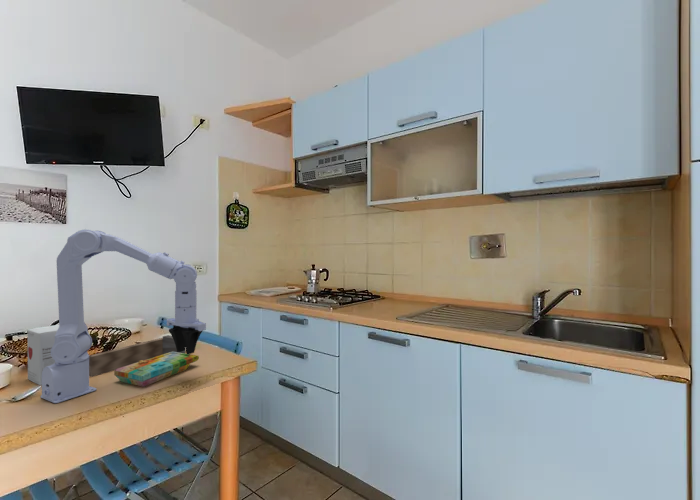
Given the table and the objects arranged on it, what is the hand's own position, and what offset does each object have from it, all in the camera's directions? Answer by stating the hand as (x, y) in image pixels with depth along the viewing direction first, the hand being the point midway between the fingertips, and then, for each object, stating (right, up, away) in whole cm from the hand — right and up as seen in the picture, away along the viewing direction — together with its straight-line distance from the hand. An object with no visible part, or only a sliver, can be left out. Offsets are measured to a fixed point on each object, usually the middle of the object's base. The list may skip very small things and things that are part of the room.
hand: (185, 352), depth 103 cm
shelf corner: (-21, -8, +12) cm, 25 cm away
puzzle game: (-11, -9, +6) cm, 15 cm away
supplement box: (-41, -8, +2) cm, 42 cm away
